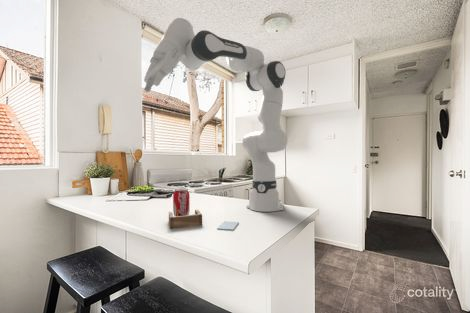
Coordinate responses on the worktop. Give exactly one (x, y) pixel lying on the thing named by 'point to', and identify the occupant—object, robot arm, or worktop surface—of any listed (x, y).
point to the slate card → (228, 225)
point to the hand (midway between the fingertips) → (150, 88)
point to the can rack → (185, 220)
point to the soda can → (181, 202)
